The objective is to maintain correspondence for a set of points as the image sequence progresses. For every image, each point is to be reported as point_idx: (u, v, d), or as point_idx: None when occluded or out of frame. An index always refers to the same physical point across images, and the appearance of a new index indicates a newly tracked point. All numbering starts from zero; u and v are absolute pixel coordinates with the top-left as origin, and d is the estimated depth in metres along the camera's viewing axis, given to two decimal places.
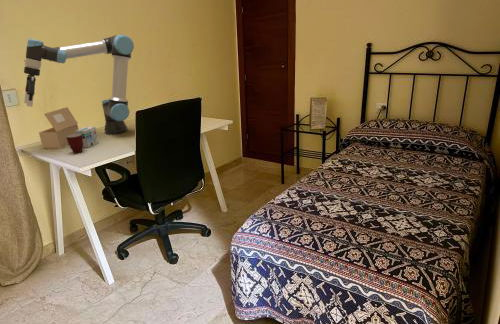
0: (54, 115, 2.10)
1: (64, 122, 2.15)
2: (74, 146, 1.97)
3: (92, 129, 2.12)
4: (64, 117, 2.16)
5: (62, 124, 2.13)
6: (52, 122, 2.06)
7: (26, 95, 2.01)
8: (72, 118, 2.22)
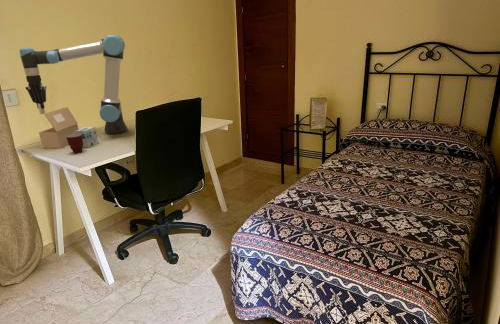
0: (54, 115, 2.10)
1: (64, 122, 2.15)
2: (74, 146, 1.97)
3: (92, 129, 2.12)
4: (64, 117, 2.16)
5: (62, 124, 2.13)
6: (52, 122, 2.06)
7: None
8: (72, 118, 2.22)
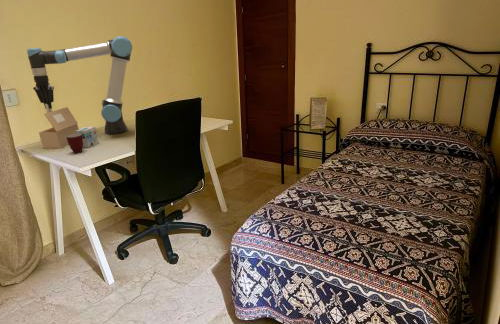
0: (54, 115, 2.10)
1: (64, 122, 2.15)
2: (74, 146, 1.97)
3: (92, 129, 2.12)
4: (64, 117, 2.16)
5: (62, 124, 2.13)
6: (52, 122, 2.06)
7: None
8: (72, 118, 2.22)
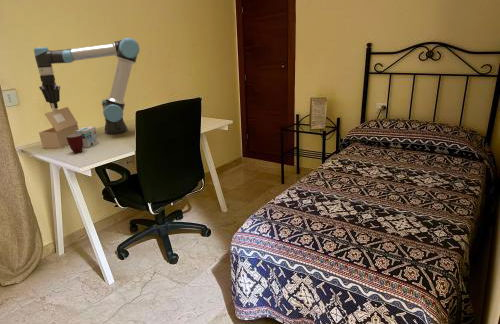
0: (54, 115, 2.10)
1: (64, 122, 2.15)
2: (74, 146, 1.97)
3: (92, 129, 2.12)
4: (64, 117, 2.16)
5: (62, 124, 2.13)
6: (52, 122, 2.06)
7: None
8: (72, 118, 2.22)
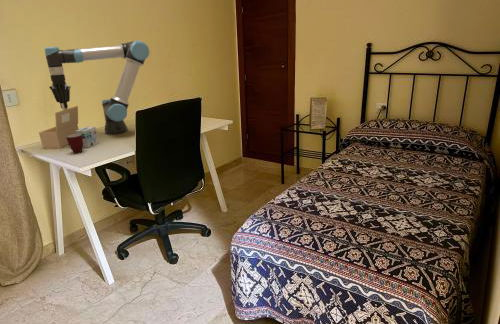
0: (63, 115, 2.08)
1: (67, 122, 2.14)
2: (74, 146, 1.97)
3: (92, 129, 2.12)
4: (69, 117, 2.15)
5: (65, 124, 2.12)
6: (58, 122, 2.05)
7: None
8: (76, 118, 2.22)
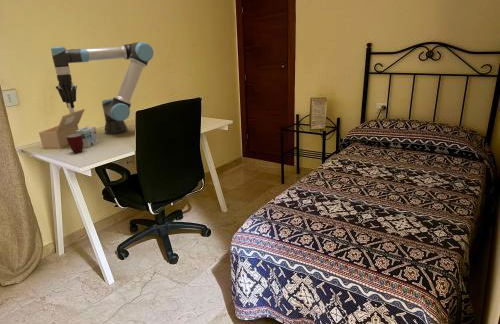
0: (68, 117, 2.08)
1: (69, 123, 2.14)
2: (74, 146, 1.97)
3: (92, 129, 2.12)
4: (73, 119, 2.15)
5: (66, 125, 2.12)
6: (61, 124, 2.05)
7: None
8: (78, 119, 2.22)
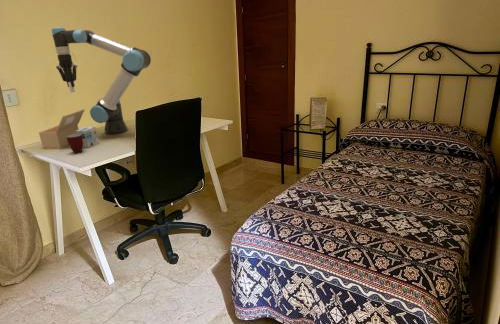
0: (68, 117, 2.08)
1: (69, 123, 2.14)
2: (74, 146, 1.97)
3: (92, 129, 2.12)
4: (73, 119, 2.15)
5: (66, 125, 2.12)
6: (61, 124, 2.05)
7: None
8: (78, 120, 2.22)
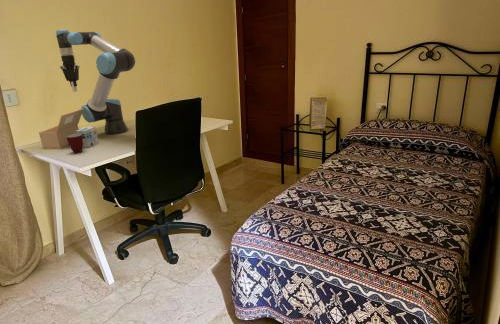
0: (67, 117, 2.08)
1: (69, 123, 2.14)
2: (74, 146, 1.97)
3: (92, 129, 2.12)
4: (72, 119, 2.15)
5: (66, 125, 2.12)
6: (60, 123, 2.05)
7: None
8: (78, 119, 2.22)
